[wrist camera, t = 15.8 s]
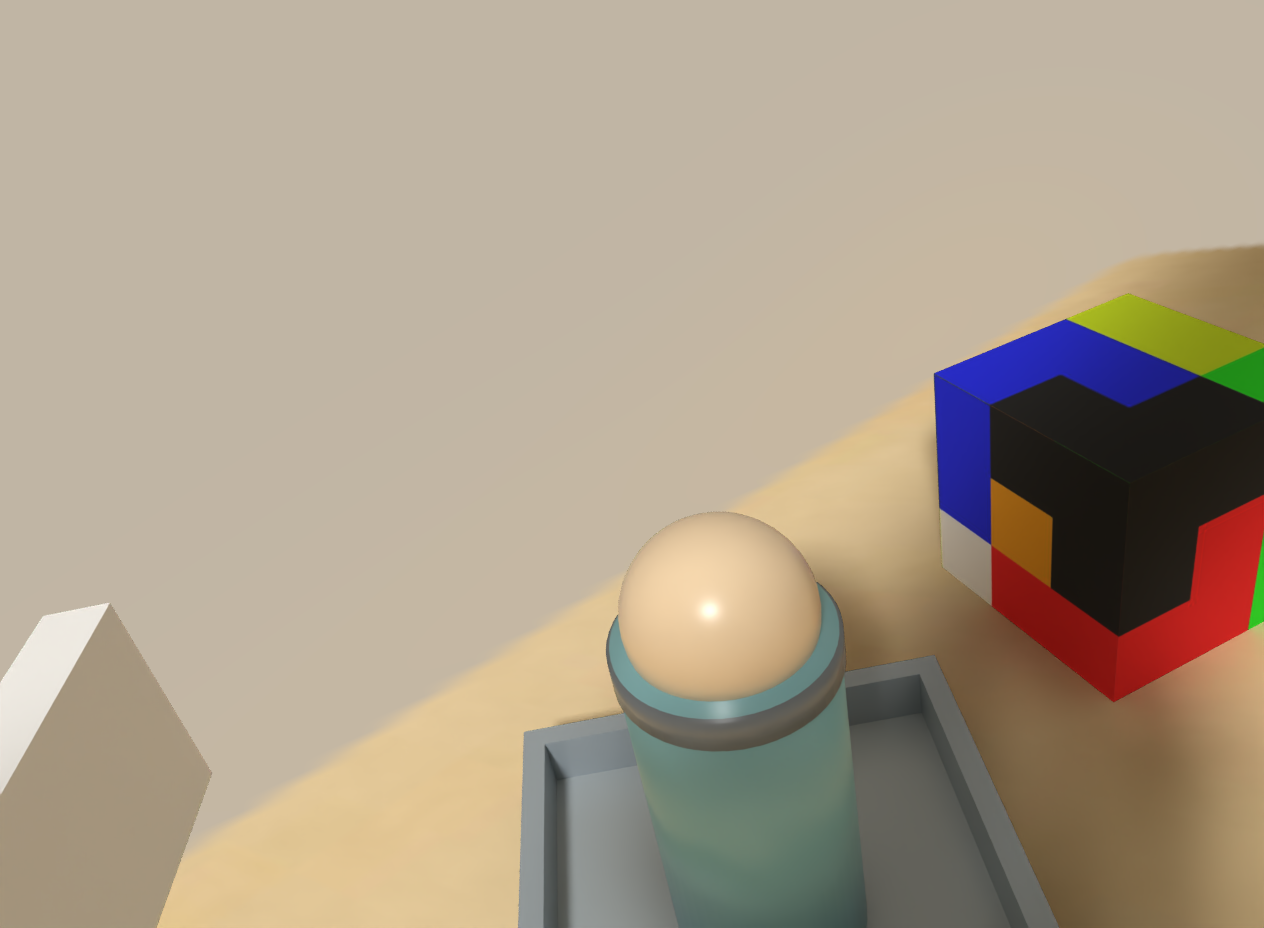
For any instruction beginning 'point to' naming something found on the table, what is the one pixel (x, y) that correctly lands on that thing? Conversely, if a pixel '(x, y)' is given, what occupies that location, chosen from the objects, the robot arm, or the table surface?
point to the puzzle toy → (1109, 487)
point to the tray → (886, 803)
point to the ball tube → (740, 726)
